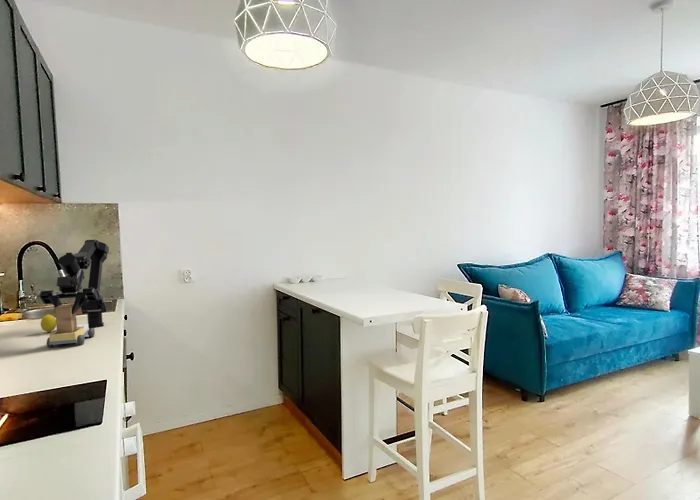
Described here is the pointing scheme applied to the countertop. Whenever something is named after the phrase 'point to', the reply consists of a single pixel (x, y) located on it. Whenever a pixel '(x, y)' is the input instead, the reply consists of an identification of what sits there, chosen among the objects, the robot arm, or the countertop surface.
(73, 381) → the countertop surface
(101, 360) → the countertop surface
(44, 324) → the lemon
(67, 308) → the walnut block
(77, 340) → the toy chassis
